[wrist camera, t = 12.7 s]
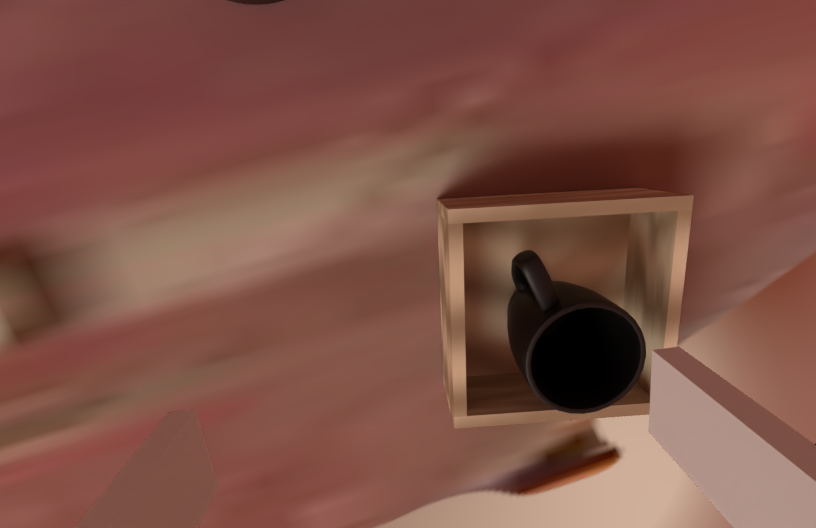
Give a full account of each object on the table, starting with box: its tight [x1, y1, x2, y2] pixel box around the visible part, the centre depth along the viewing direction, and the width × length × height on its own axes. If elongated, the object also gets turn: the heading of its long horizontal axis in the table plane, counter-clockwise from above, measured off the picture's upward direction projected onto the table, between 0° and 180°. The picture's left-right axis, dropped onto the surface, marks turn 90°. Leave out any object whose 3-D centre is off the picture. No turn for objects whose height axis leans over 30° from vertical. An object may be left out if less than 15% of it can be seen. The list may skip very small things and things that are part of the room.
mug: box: [507, 250, 646, 414], centre depth 33 cm, size 8×12×10 cm
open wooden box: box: [437, 187, 694, 428], centre depth 35 cm, size 17×17×7 cm
